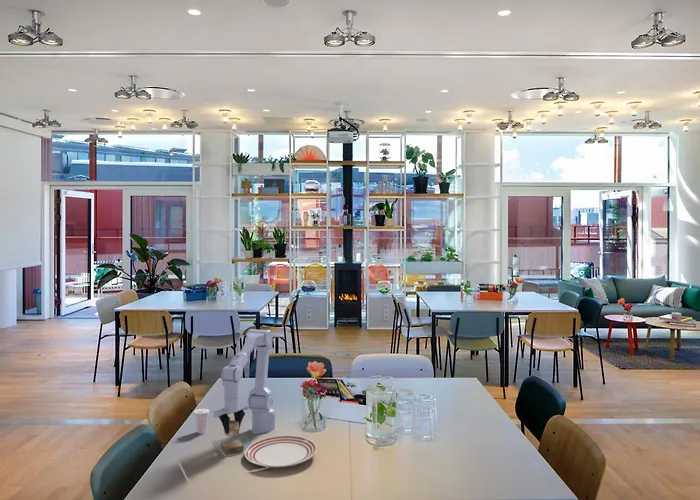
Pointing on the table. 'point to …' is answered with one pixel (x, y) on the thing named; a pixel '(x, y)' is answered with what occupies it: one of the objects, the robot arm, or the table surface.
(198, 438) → the table surface
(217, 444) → the build board
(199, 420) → the smoothie
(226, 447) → the walnut slab
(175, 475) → the table surface
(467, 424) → the table surface
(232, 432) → the oak block
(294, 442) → the dinner plate
